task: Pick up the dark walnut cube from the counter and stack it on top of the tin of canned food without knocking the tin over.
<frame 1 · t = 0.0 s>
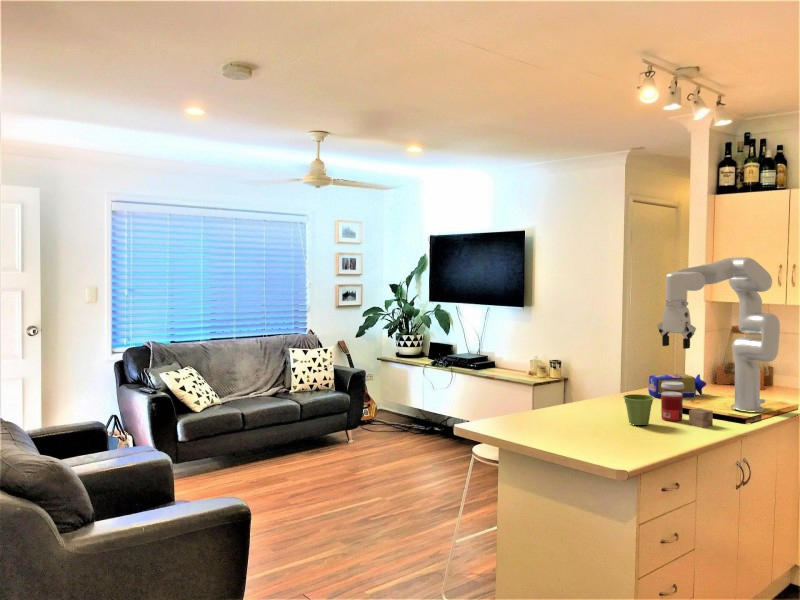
hand: (675, 347, 251), 31 cm above the countertop, tool pointing down, fingers open, 9 cm apart
plant pot: (638, 424, 254), on the countertop
canned food: (671, 420, 260), on the countertop
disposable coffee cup: (672, 410, 276), on the countertop
walnut block: (700, 425, 250), on the countertop
bread: (675, 396, 304), on the countertop
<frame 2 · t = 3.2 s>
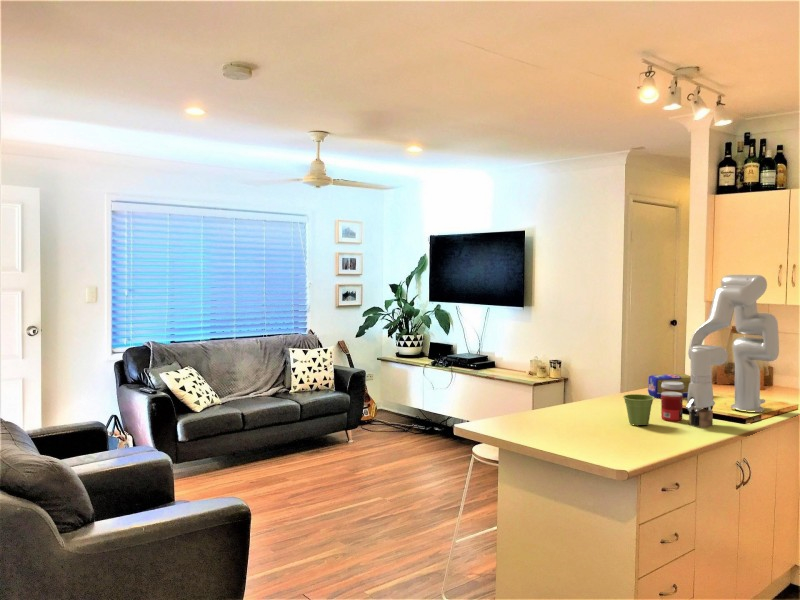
hand: (700, 423, 250), 1 cm above the countertop, tool pointing down, fingers closed on walnut block, 6 cm apart
walnut block: (700, 425, 250), on the countertop, touching gripper
everything else where it was.
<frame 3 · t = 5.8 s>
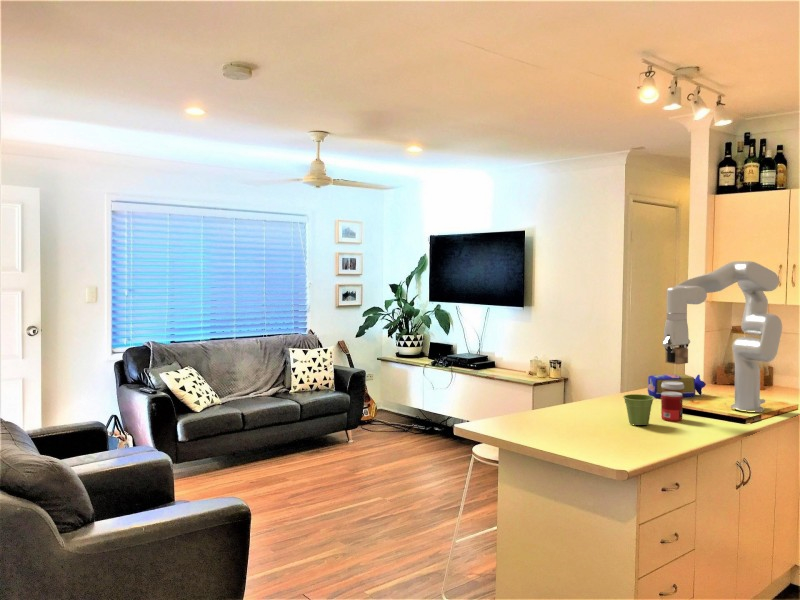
hand: (676, 361, 257), 25 cm above the countertop, tool pointing down, fingers closed on walnut block, 6 cm apart
walnut block: (676, 362, 257), point 24 cm above the countertop, touching gripper
everything else where it was.
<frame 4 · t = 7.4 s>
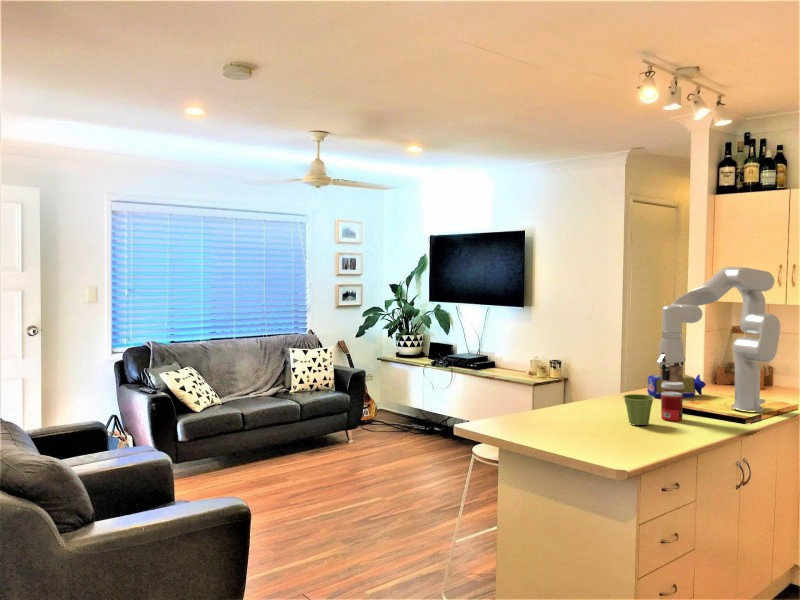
hand: (671, 378, 259), 17 cm above the countertop, tool pointing down, fingers closed on walnut block, 6 cm apart
walnut block: (671, 380, 259), point 16 cm above the countertop, touching gripper
everything else where it was.
when the fingers open (13 cm above the countertop, at t = 8.6 s): walnut block drops 1 cm, resting on canned food.
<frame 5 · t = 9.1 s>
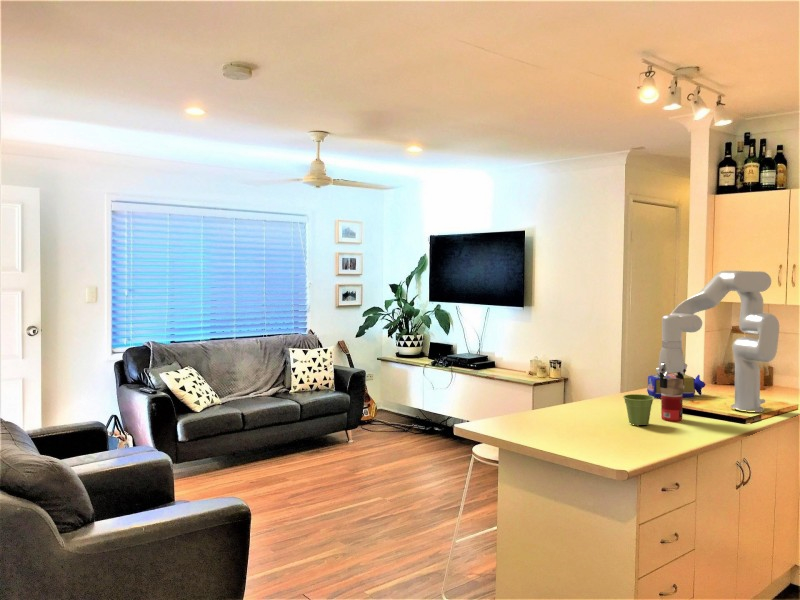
hand: (671, 386, 259), 14 cm above the countertop, tool pointing down, fingers open, 9 cm apart
canned food: (671, 420, 260), on the countertop, touching walnut block
walnut block: (671, 393, 259), point 11 cm above the countertop, touching canned food
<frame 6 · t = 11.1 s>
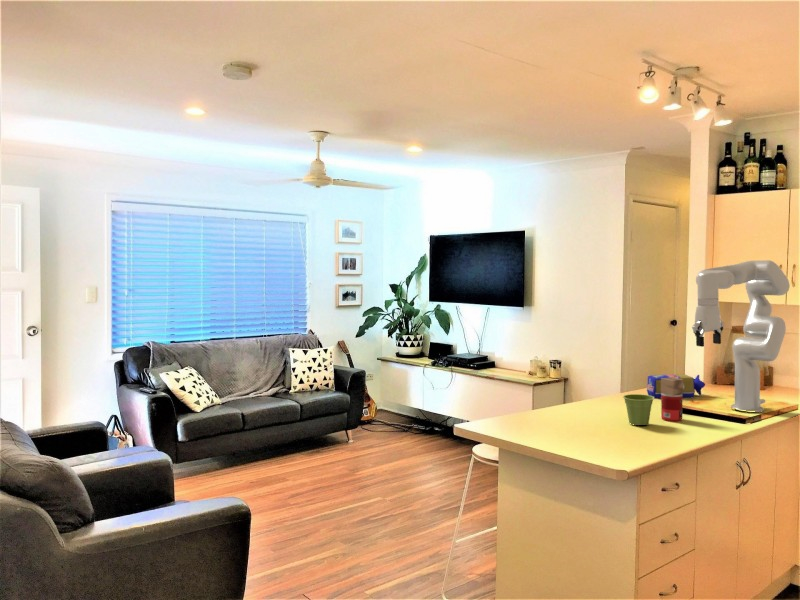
hand: (708, 344, 254), 31 cm above the countertop, tool pointing down, fingers open, 9 cm apart
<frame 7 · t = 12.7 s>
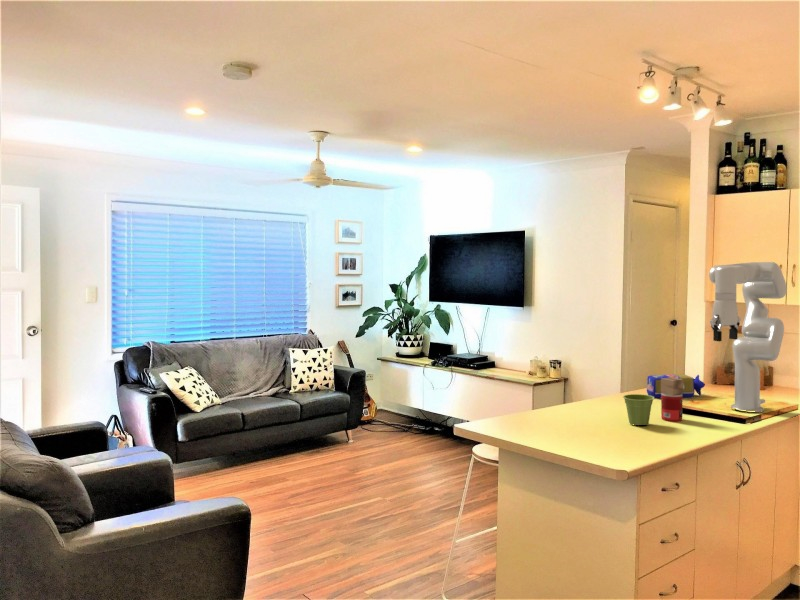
hand: (725, 340, 252), 33 cm above the countertop, tool pointing down, fingers open, 9 cm apart
at the end: walnut block 0.1 cm from the canned food (horizontally); walnut block point 10.9 cm above the countertop; walnut block tilted 0° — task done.
